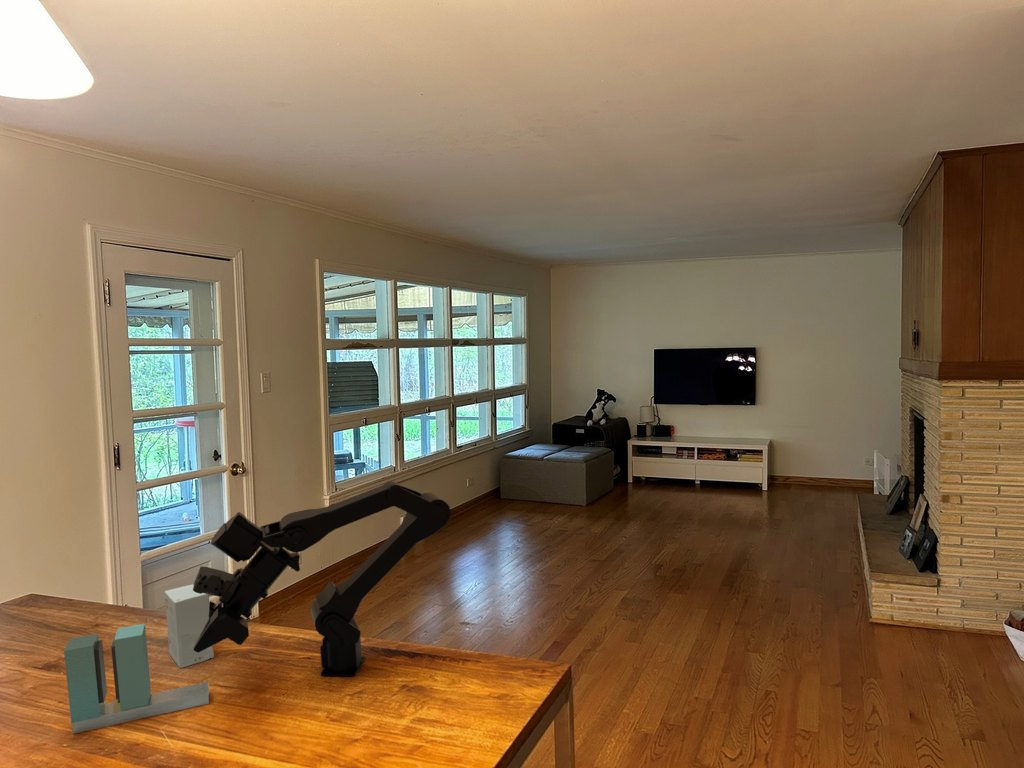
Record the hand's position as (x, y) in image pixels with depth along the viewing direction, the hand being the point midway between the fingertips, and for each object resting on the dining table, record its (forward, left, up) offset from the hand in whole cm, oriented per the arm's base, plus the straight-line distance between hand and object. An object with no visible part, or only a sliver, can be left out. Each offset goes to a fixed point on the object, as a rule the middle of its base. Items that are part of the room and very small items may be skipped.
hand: (195, 650), depth 120 cm
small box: (+10, -15, -9) cm, 21 cm away
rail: (+7, +4, -9) cm, 12 cm away
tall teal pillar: (+9, +5, -7) cm, 12 cm away
